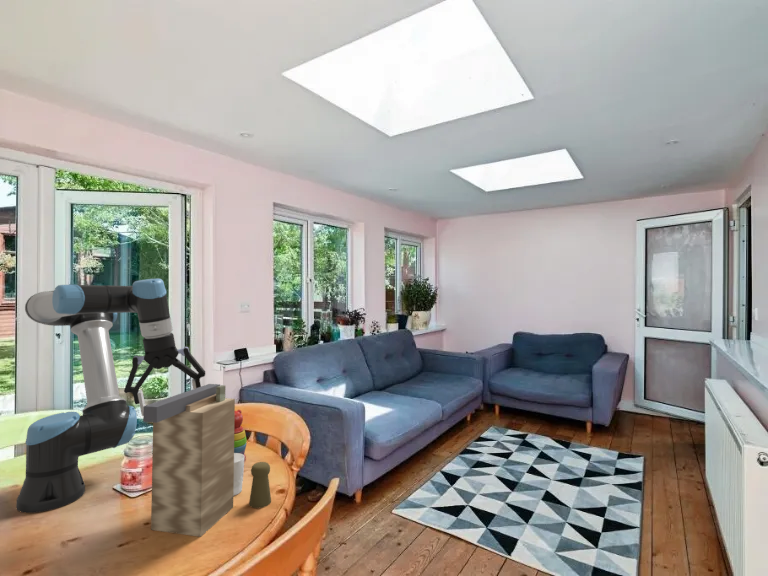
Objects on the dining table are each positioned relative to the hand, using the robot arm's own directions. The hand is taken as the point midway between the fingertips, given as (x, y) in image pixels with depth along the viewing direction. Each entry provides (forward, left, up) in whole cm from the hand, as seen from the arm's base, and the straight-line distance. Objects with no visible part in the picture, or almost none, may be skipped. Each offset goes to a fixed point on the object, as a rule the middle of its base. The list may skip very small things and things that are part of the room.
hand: (171, 407), depth 114 cm
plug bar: (+12, -9, +3) cm, 15 cm away
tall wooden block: (+12, -5, -27) cm, 30 cm away
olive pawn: (+25, +6, -27) cm, 37 cm away
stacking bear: (+1, +30, -27) cm, 40 cm away
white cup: (+13, +10, -27) cm, 32 cm away
